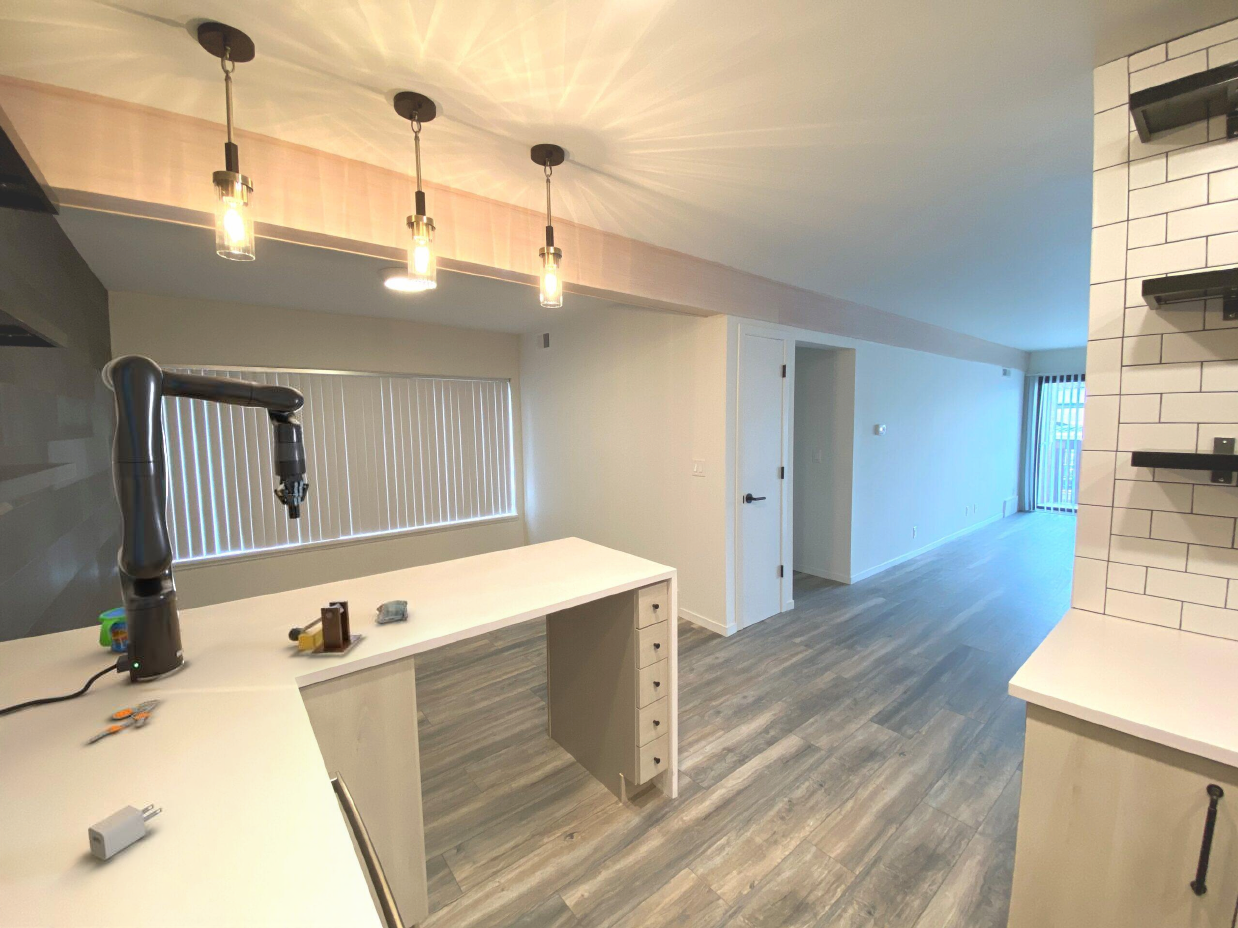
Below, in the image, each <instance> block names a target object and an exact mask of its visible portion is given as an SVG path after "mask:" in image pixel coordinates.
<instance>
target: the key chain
mask: <svg viewBox="0 0 1238 928" xmlns="http://www.w3.org/2000/svg"><path fill="white" fill-rule="evenodd" d="M160 701H161V700H160V699H153V700H148V701H147V700H146V701H144V702H141V703H140V704H138V706H137V707H136V709H134V708H128V709H124V710H120V711H118V712H116V713H115V714H113V715H112V719H113V720H120V719H124V718H127V717H129V716H130V718H131V719H132V720H130V721H127V722H125V723H122V724H120V725H113V726H110V727H108V728H106V729H105V730H104V731H103V732H102V733H99V734H97V735H95V736H94V737H92V738H89V740H88V741H89V742H94V741H95V740H97V739H99V738H101V737H103V736H105V735H107V734H109V733H114V732H116V731H119V730H120V729H121V727H124V726H127V725H129V724H131V723H133V722H135V721H137V722H136V725H135V727H137V728H138V727H141V726H142V725H144V722H145V719H146V718H148V717H149V713H148V711H149V710H151V708H154V706H156V705H157V704H158V703H159V702H160ZM149 703H153V704H152V705H150V706H149V707H145V708H142V709H139V708H140V707H141V706H142V705H145V704H149ZM138 709H139V710H138Z"/></svg>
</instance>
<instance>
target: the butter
mask: <svg viewBox="0 0 1238 928" xmlns="http://www.w3.org/2000/svg"><path fill="white" fill-rule="evenodd" d="M298 640H299V641H298V649H299V650H300V651H301V650H315V649H316V648H317V647H319V646H320V645H321V644H322V643H323V631H322V626H320V627H311V628H310V629H308V630H306V631H305V632H303V633H302V634H300V635H299V636H298Z"/></svg>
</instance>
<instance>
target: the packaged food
mask: <svg viewBox="0 0 1238 928" xmlns="http://www.w3.org/2000/svg"><path fill="white" fill-rule="evenodd" d="M407 606H408V601H407V600H403V599H402V600H399V599H397V600H392V601H387V602H385V603H382V604H380V605H379V606H378V607H376V611H377V612H378V616H377V617H376V619H375V620H374V622H375V623H379V624H386V623H392V622H397V621H398V622H399V621H405V620H407V618H408V607H407Z"/></svg>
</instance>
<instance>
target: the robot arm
mask: <svg viewBox="0 0 1238 928" xmlns="http://www.w3.org/2000/svg"><path fill="white" fill-rule="evenodd" d="M101 378H102V382H103V383H104V385H105V386H106V387H107V388H108V389H110V390H111V391H112V392H113V393H114V396H115V397H114V398H115V402H116V409H117V422H116V429H115V433H114V437H113V441H112V447H111V448H112V449H111V469H112V471H111V472H112V480H113V481H112V482H113V487H114V492H115V496H116V497H115V498H116V501H117V504H118V507H119V511H120V515H121V519H122V542H121V547H120V548H119V549H118V553H117V567H118V576H119V584H120V592H121V598H122V604H123V607H124V613H125V621H126V630H127V638H128V641H127V644H126V646H127V651H126V653H127V654H121V655H118V658H117V660H116V663H115V664H112V665H111V666H109V667H107V668H104V669H102V670H101V671H99V672H98V673H96V674H95V675H94V676H92V677H91V678H90V679H89V680H88V681H87V682H86V684H85V685H84V687H83V688H82V689H81V690H78V691H77V692H74V693H71V694H69V695H65V696H57V697H49V698H40V699H35V700H34V699H33V700H30V701H26V702H22V703H19V704H16V705H13V706H9V707H6V708H5V707H4V708H3V709H0V716H1V715H4V714H7V713H11V712H14V711H17V710H20V709H23V708H27V707H31V706H36V705H41V704H49V703H57V702H62V701H66V700H67V701H68V700H71V699H75V698H77V697H78V698H79V697H80V696H81V695H84V694H85V693H86V692H88V690H89V689H90V688H91V686H92V685H93V683H94V682H95V681H97V680H98V679H99V678H100V677H103V676H104V675H105V674H107V673H109V672H112V671H113V670H116V674H121V673H126V672H128V673H129V681H130V684H133V683H138V682H141V683H142V682H150V681H154V680H157V679H159V678H161V677H162V676H164V675H166V674H168V673H171V672H173V671H175V670H178V668H180V667H182V666H183V665H184V663H185V661H184V656H183V653H185V649H184V647H183V646H182V645H183V644H182V635H181V627H180V617H179V609H178V607H179V606H178V598H177V589H176V585H175V580H174V574H173V566H172V563H173V560H174V552H173V547H172V544H171V539H170V534H169V529H168V523H167V522H168V521H167V507H168V506H167V505H168V484H169V483H168V478H169V477H168V460H167V451H166V441H165V433H164V427H163V419H162V411H163V410H162V408H163V397H173V398H183V399H189V400H198V401H203V402H208V403H215V404H221V405H227V406H234V407H242V408H249V409H250V408H251V409H257V408H259V409H266V411H267V414H268V418H269V421H270V424H271V427H272V438H273V439H272V440H273V449H272V450H273V451H272V453H273V464H274V465H273V466H274V474H275V476H276V477H279V482H278V485H279V487H278V488H274V490H273V493H274V494H275V496H276V498H277V499H278V500H279V502H280V503H281V504H282V506H286V507H287V508H288V517H289V519H291V520H296V519H300V518H301V510H300V509H301V507H300V506H301V504H302V503H303V502H304V501H305V499H306V496H307V493H308V491H309V487H310V484H309V482H307V483H306V482H305V479H304V476H303V475H306V474H307V461H306V449H305V444H304V437H303V436H304V435H303V427H302V424H301V423H300V422H299V421H297V418H296V412H298V411H299V410H301V409H302V408H303V406H304V405H305V397H304V395H303V393H301V391H299V390H298V389H296V388H294V387H291V386H286V385H277V384H267V383H259V382H256V381H255V382H254V381H251V380H245V379H239V378H232V377H226V376H225V377H224V376H216V375H207V374H206V375H205V374H195V373H187V372H181V371H176V370H171V369H167V368H163V367H160V365H159V364H158V363H157V362H156V361H154V360H153V359H151V358H149V357H147V356H144V355H142V354H141V355H140V354H127V355H123V356H119V357H116V358H114V359H112V360H110V361H109V362H107V363H106V364H105V365H104V367H103V368H102V370H101Z"/></svg>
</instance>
